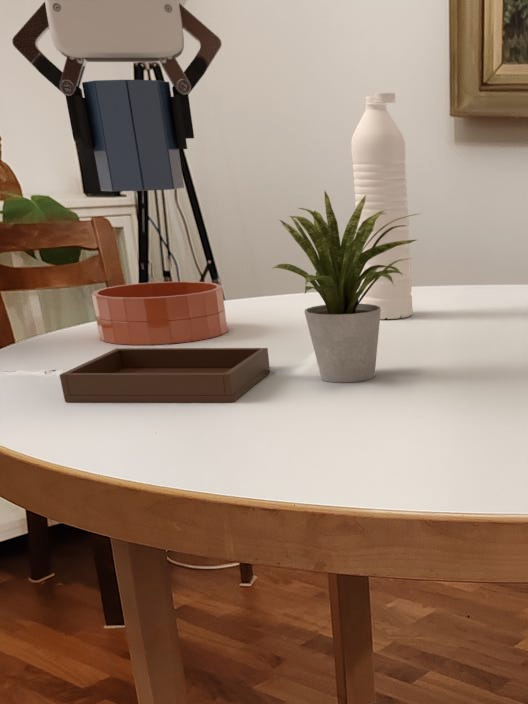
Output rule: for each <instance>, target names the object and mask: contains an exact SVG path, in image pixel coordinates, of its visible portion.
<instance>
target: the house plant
mask: <svg viewBox="0 0 528 704" xmlns="http://www.w3.org/2000/svg"><path fill="white" fill-rule="evenodd" d="M365 198H366V195H365V196H364V197H363V199H362V200H361V202H360V203H359V204H358V206H357V208H356V207H355V210H354V212H353V213H352V215H351V217H350V218H349V220H348V222H347V223H346V227H345V230H344V233H343V235H342V238H341V239H340V232H339V225H338V221H337V218H336V215H335V212H334V210H333V207H332V203H331V200H330V199H331V198H330V196H329V195H328V194H327V192H326V190H324V205H325V214H326V221H327V222H326V221H325V219H324V218H323V216H322V214H321V213H320V212H318V211H316V210H314V211H313V210H311V209H308V208H304V207H303V208H302V207H298V209H299V210H303V211H306V212H308V213H309V214H310V215H311V216H312V217H313V222H312V221H310V220H309V219H308V218H306V217H303V216H297V215H295V216H294V215H293V216H292V215H289V218H290V219H291V220H292V221H293V224H294V225H295V227H296V228H294V227H293V226H292V225H291V224H289V223H287V222H284V221H283V220H281V219H279V221H280V223H281V225H282V226H283V227H284V228H285V229H286V231H288V233H289V234H290V235H291V237H292V239H294V241H295V242H296V244H298V246H300V248H301V249H302V251H304V253H305V254H306V256H307V257H308V259H309V261H310V262H311V264H312V266H313V268H314V270H315V274H309V273H308V272H307V271H305V270H304V269H302V268H301V267H298V266H296V265H293V264H290V263H279V264H277V265H275V266H273V267H272V269H282V270H286V271H289V272H292V273H295V274H297V275H299V276H301V277H303V278H304V279H305V284H304V285H305V286H304V294H306V293H307V292H308V291H309V290H312V289H314V290H315V291H316V292H317V293H318V294H319V296H320V297H321V299H322V300H323V302H324V304H321V305H315V306H310V307H307V308H304V316H305V319H306V323H307V327H308V331H309V334H310V338H311V343H312V347H313V351H314V355H315V358H316V363H317V367H318V370H319V371H318V372H319V374H320V377H321V380H322V381H325V382H329V383H357V382H364V381H368V380H372V379H374V377H375V376H376V366H377V355H378V343H379V334H380V333H379V332H380V323H381V322H380V321H381V319H380V312H381V309H380V307H379V306H376V305H371V304H362V303H361V302H362V301H361V300H362V298H363V297H364V296H365V294H366V293H367V292H368V290H369V289H370V288H371V287H372V285H373V284H374V283H375V282H376V281H377V280H378V278H379V277H380V276H384V277H386V278H388V279H389V280H390V281H391V282H392V283H393V281H392V277H391V276H390V275H389V273H400V274H403V273H401V272H400V271H399V270H398V269H397V268H395V267H393V266H392V265H393V264H394V263H396V262H398V261H401V260H407V259H400V260H397V261H394V262H393V263H391V264H389V265H388V266H384V265H375V266H371V267H369V268H368V269H366V270H365V271H364V272H363V273H362V274H361V272H362V270H363V268H364V266H365V264H366V262H367V261H368V260H369V259H371V258H373V257H374V256H376V255H379V254H381V253H383V252H385V251H387V250H389V249H391V248H394V247H396V246H399V245H403V244H408V243H409V244H411V243H413V242H416V241H417V239H409V240H405V241H396V242H391V243H386V244H382V245H379V246H376V245H377V243H378V242H379V241H380V239H381V238H382V237H383V236H384V235H385V234H386V233H388V232H389V231H390V230H392V229H394V228H396V227H402V226H408V227H409V225H399V226H394V227H391V228H389V229H387V230H386V231H385V232H384V233H382V234H381V235H380V237H379V238H378V239H377V240H376V242H375V244H374V245H373V247H372V248H370V249H368V250H366V251H364V252H363V250H364V249H365V247H366V246H367V245H368V243H369V242H370V241H371V240H372V239H373V237H374V236H375V235H376V234H377V233H378V232H379V231H381V230H382V229H383V228H385V227H386V226H387V225H389V224H391V223H393V222H394V221H396V220H399V219H402V218H405V217H408V218H409V217H413V216H417V215H418V213H414V214H408V216H404V217H401V218H398V219H395V220H393V221H391V222H389V223H387V224H386V225H385V226H383V227H382V228H381V229H379V230H378V231H377V232H376V233H375V234H374V235H373V236H372V238H371V239H370V240H369V241H368V242H367V244H366V245H365V243H366V241H367V239H368V237H369V236H370V234H371V233H372V231H373V228H374V224H375V221H376V219H377V218H378V217H379V216H380V215H382V214H387V213H383V211H381V212H378V213H376V214H374V215H373V216H371V217H369V218H367V219H366V220H365V221H363V222H362V224H361V226H360V227H359V229H358V228H357V227H358V223H359V220H360V216H361V212H362V209H363V207H364V204H365ZM384 211H385V210H384ZM421 214H422V213H419V215H421ZM302 227H303V228H302ZM304 230H305V231H306V232H305V231H304ZM306 233H307V234H308V236H309V238H310V239H309V238H308V236H307V234H306ZM311 241H312V242H311ZM364 245H365V247H364ZM375 246H376V247H375ZM363 247H364V248H363ZM362 249H363V250H362ZM411 259H413V258H412V257H410V260H411ZM384 267H386V268H385V269H384V270H383V271H379V272H375V271H376V270H377V269H378V268H384ZM388 268H391V269H394V270H387V269H388ZM360 274H361V275H360ZM364 278H365V280H364V282H363V283H362V285H360V284H361V282H362V280H363V279H364ZM374 279H375V280H374ZM373 280H374V281H373ZM372 281H373V282H372ZM371 282H372V283H371ZM309 283H310V284H311V285H312V286H310V285H309V286H308V285H307V284H309ZM369 283H371V285H370V286H369V287H368V288H367V290H366V291H365V292H364V294H363V295H362V293H363V291H364V290H365V288H366V287H367V285H368V284H369ZM393 285H394V284H393ZM360 296H361V297H360Z"/></svg>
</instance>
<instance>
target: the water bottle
mask: <svg viewBox="0 0 528 704" xmlns="http://www.w3.org/2000/svg"><path fill="white" fill-rule="evenodd" d="M392 103H393V104H395V103H396V93H395V92H374V93H373V95H367V96H365V104H363V105H364V106H365V110H364V112H363V114H362V116H361V118H360V119H359V122H358V123H357V125H356V128H355V130H354V132H353V134H352V137H351V142H350V143H351V144H350V151H351V160H352V164H353V165H352V170H353V174H352V175H353V179H354V180H353V185H354V193H355V194H354V200H355V203H354V205H355V209H356V208H357V206H358V204H359V203H360V202H361V200H362V199H363V197H364V196H365V195H366V198H365V204H364V207H363V209H362V212H361V216H360V220H359V223H358V227H357V230H358V229H359V227H360V226H361V224H362V222H363V221H365V220H366V219H367V218H369V217H371V216H373V215H374V214H376V213H378V212H381V211H383V213H387V214H382V215H380V216H379V217H378V218H377V219H376V221H375V224H374V228H373V231H372V233H371V234H370V236H369V237H368V239H367V241H366V243H365V245H366V244H367V242H368V241H369V240H370V239H371V238H372V236H373V235H374V234H375V233H376V232H377V231H378V230H379V229H381V228H382V227H383V226H385V225H386V224H387V223H389V222H391V221H393V220H395V219H398V218H401V217H404V216H408V215H409V209H408V201H407V200H408V193H407V191H408V187H407V178H406V177H407V172H406V169H407V165H406V141H405V139H404V138H405V137H404V136H403V133H402V132H401V130H400V128H399V127H398V125H397V123H396V122H395V121H394V119H393V117H392V116H391V115H390V113H389V111H388V109H387V106H388V104H392ZM384 210H385V211H384ZM409 222H410V221H409V217H405V218H402V219H399V220H396V221H394V222H393V223H391V224H389V225H387V226H386V227H385V228H383V229H382V230H381V231H379V232H378V233H377V234H376V235H375V236H374V237H373V239H372V240H371V241H370V242H369V243H368V245H367V246H366V247H365V245H364V247H365V249H364V250H363V249H362V250H363V252H364V251H366V250H368V249H370V248H372V247H373V245H374V244H375V242H376V240H377V239H378V238H379V237H380V235H381V234H382V233H384V232H385V231H386V230H387V229H389V228H391V227H394V226H399V225H408V226H402V227H396V228H394V229H392V230H390V231H389V232H388V233H386V234H385V235H384V236H383V237H382V238H381V239H380V241H379V242H378V243H377V245H376V246H379V245H382V244H386V243H391V242H396V241H405V240H410V232H409V229H408V228H409V225H410V224H409ZM409 245H410V243H408V244H403V245H399V246H396V247H394V248H391V249H389V250H387V251H385V252H383V253H381V254H379V255H376V256H374V257H373V258H371V259H369V260H368V261H367V262H366V264H365V266H364V268H363V270H362V272H361V274H362V273H363V272H364V271H365V270H366V269H368V268H369V267H371V266H375V265H384V266H388V265H389V264H391V263H393V262H394V261H397V260H400V259H407V260H401V261H398V262H396V263H394V264H393V265H392V266H393V267H395V268H397V269H398V270H399V271H400V272H401V273H403V274H400V273H389V275H390V276H391V277H392V281H393V283H392V282H391V281H390V280H389V279H388V278H386V277H384V276H380V277H379V278H378V280H377V281H376V282H375V283H374V284H373V285H372V287H371V288H370V289H369V290H368V292H367V293H366V294H365V296H364V297H363V298H362V300H361V301H360V302H361V304H371V305H376V306H379V307H380V309H381V312H380V320H385V319H387V320H397V319H405V318H409V317H411V316H412V315H413V310H414V309H413V296H412V294H411V293H412V279H411V274H412V273H411V272H412V269H411V263H410V260H411V259H410V258H411V251H410V247H409ZM376 246H375V247H376ZM364 247H363V248H364ZM385 268H386V267H384V268H378V269H377V270H376V271H375V272H379V271H383V270H384V269H385ZM387 270H394V269H391V268H388V269H387ZM361 274H360V275H361ZM364 280H365V278H364V279H363V280H362V282H361V284H360V286H361V285H362V283H363V282H364ZM374 280H375V279H374ZM374 280H373V281H374ZM373 281H372V282H373ZM372 282H371V283H372ZM371 283H369V284H368V285H367V287H366V288H365V290H364V291H363V293H362V294H361V296H362V295H363V294H364V292H365V291H366V290H367V288H368V287H369V286H370V285H371ZM393 284H394V285H393Z"/></svg>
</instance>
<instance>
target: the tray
mask: <svg viewBox="0 0 528 704" xmlns="http://www.w3.org/2000/svg"><path fill="white" fill-rule="evenodd" d="M269 374H271V369H270V359H269V349H268V347H168V348H167V347H159V348H158V347H152V348H151V347H149V348H148V347H145V348H144V347H143V348H142V347H140V348H139V347H137V348H135V347H133V348H129V347H128V348H127V347H126V348H125V347H124V348H123V347H122V348H121V347H120V348H118V347H117V348H114V349H112V350H110V351H107V352H105V353H103V354H101V355H99V356H97V357H95V358H92V359H90V360H88V361H86V362H84V363H82V364H79V365H78V366H75V367H73V368H71V369H69V370H67V371H64V372H62V373H60V374H59V381H60V385H61V390H62V394H63V400H64V402H65V403H234V402H236V400H238V399H239V398H240V397H242V396H243V395H244V394H245V393H247V392H248V391H249V390H251V389H252V388H253V387H255V386H256V385H257V384H258V383H259V382H260V381H262V380H263V379H265V378H266V377H267V376H268V375H269Z"/></svg>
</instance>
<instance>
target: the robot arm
mask: <svg viewBox="0 0 528 704" xmlns="http://www.w3.org/2000/svg"><path fill="white" fill-rule="evenodd" d="M48 31H49V33H50V36H51V40H52V43H53V46H54V47H55V49H56V50H57V51H58V52H59V53H60V54H61V55H62V56H64V57H65V58H66V59H65V63H64V66H63V70H61V69H60V68H59V67H57V66H56V65H55V64H54V63H53V62H52V61H51V60H50V59H49V58H48V57H47V56H46V55H45V54H44V53H43V52H42V51H41V49H39V46H38V44H39V43H38V42H40V41H41V39H42V38H43V37H44V36H45V34H46V33H47V32H48ZM184 31H185V32H187V34H189V35H190V36H191V37H192V38H193V39H194V40H196V41H197V43H198V44H199V47H200V48H199V50H198V51H197V53H196V55H195V56H194V58H193V59H192V61H191V62H190V63H189V64H188V65H187V67H186V69H185V70H183V68H182V67H181V65H180V64H179V62H178V60H177V58H178V57H180V56H181V55H182V53H183V52H184V47H185V42H184V41H185V40H184V38H185V37H184ZM11 42H12V46H13V47H14V48H15V49H16V50H17V51H18V52H19V53H20V54H21V55H22V57H24V58H25V60H27V61H28V62H29V63H30V64H31V66H33V67H34V68H35V69H36V70H37V71H38V73H39V74H41V76H43V77H44V78H45V79H46V80H47V81H48V82H50V84H52V85H53V86H54V87H55V88H56V89H58V90H59V92H61V93H62V94H63V95H64V96H65V102H66V105H67V106H66V107H67V112H68V118H69V123H70V128H71V133H72V134H71V135H72V138H73V141H74V142H82V147H83V148H82V149H83V151H84V152H94V147H93V142H92V136H91V131H90V125H89V119H88V114H87V108H86V102H85V97H84V94H83V88H81V85H82V80H83V77H84V73H85V70H86V66H87V63H154V62H155V63H159V64H160V66H161V68H162V69H163V71H164V73H165V74H166V76H167V77H168V79H169V82H170V83H171V84H172V87H171V89H172V96H171V100H172V107H173V114H174V121H175V128H176V135H177V142H178V148H179V149H181V150H188V144H187V139H189V140H190V139H195V133H194V128H193V119H192V112H191V104H190V97H189V95H190V93H191V92H192V90H194V88H195V86H196V85H197V84H198V83H199V82H200V80H201V79H202V78H203V76H204V75H205V74H206V72H207V70H209V67H210V65H211V64H212V62H213V61H214V60H215V58H216V56H217V54H218V53H219V52H220V50H221V47H222V40H221V38H220V37H219V36H218V35H217V34H215V33H214V32H213V31H212V30H211V29H210V28H209V27H207V26H206V25H205V24H204V23H203V22H202V21H201V20H199V19H198V18H197V17H196V16H195V15H194V14H193V13H191V12H190V11H189V10H188V9H187V8H186V7H185V6H183V5H182V4H181V3H180V0H44V2H42V4H41V5H40V6H39V7H38V8H37V9H36V11H35V12H34V13H33V14H32V15H31V16H30V17H29V19H28V20H27V21H26V22H25V24H23V25H22V27H21V28H20V30H18V32H17V33H16V34H15V35H14V36H13V38H12V40H11Z"/></svg>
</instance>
